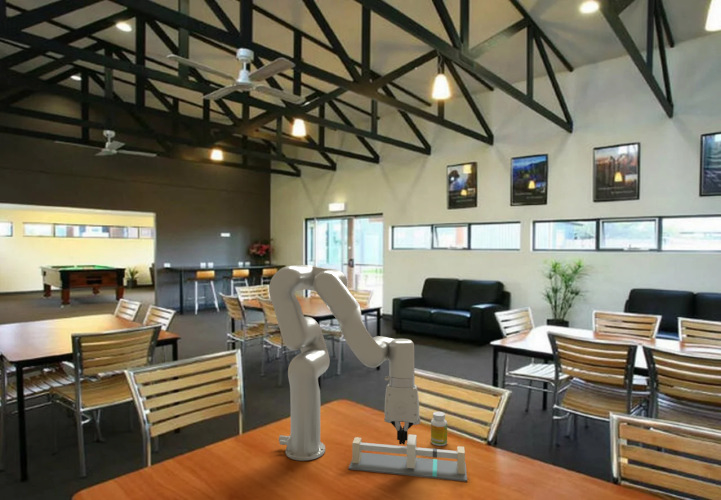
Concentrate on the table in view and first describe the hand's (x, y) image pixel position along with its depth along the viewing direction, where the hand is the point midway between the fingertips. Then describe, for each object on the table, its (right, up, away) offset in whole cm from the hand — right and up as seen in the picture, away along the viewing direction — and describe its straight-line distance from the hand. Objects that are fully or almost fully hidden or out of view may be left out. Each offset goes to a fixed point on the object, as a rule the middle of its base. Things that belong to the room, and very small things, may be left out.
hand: (402, 442), depth 126 cm
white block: (+3, -6, -1) cm, 6 cm away
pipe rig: (+2, -7, 0) cm, 7 cm away
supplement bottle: (+14, -7, +16) cm, 22 cm away
